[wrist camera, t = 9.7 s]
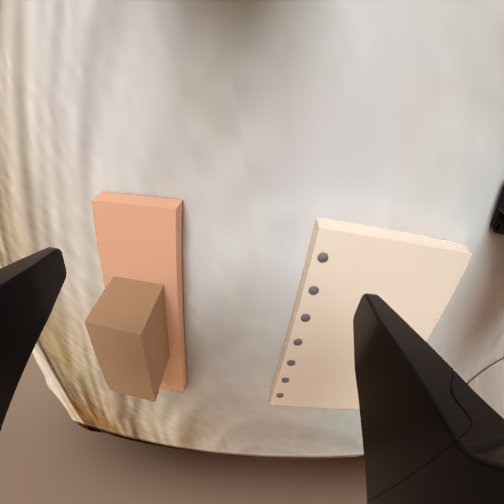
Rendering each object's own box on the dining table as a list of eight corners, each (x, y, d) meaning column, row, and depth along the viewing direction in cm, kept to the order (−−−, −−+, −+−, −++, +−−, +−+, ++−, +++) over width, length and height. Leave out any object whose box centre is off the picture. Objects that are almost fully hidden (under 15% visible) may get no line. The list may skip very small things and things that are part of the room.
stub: (182, 199, 20) (147, 253, 15) (186, 381, 31) (173, 434, 25) (102, 191, 20) (50, 237, 15) (133, 369, 31) (114, 419, 25)
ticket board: (463, 243, 20) (473, 255, 19) (376, 397, 31) (378, 409, 30) (316, 217, 20) (319, 228, 19) (270, 392, 31) (269, 405, 30)
